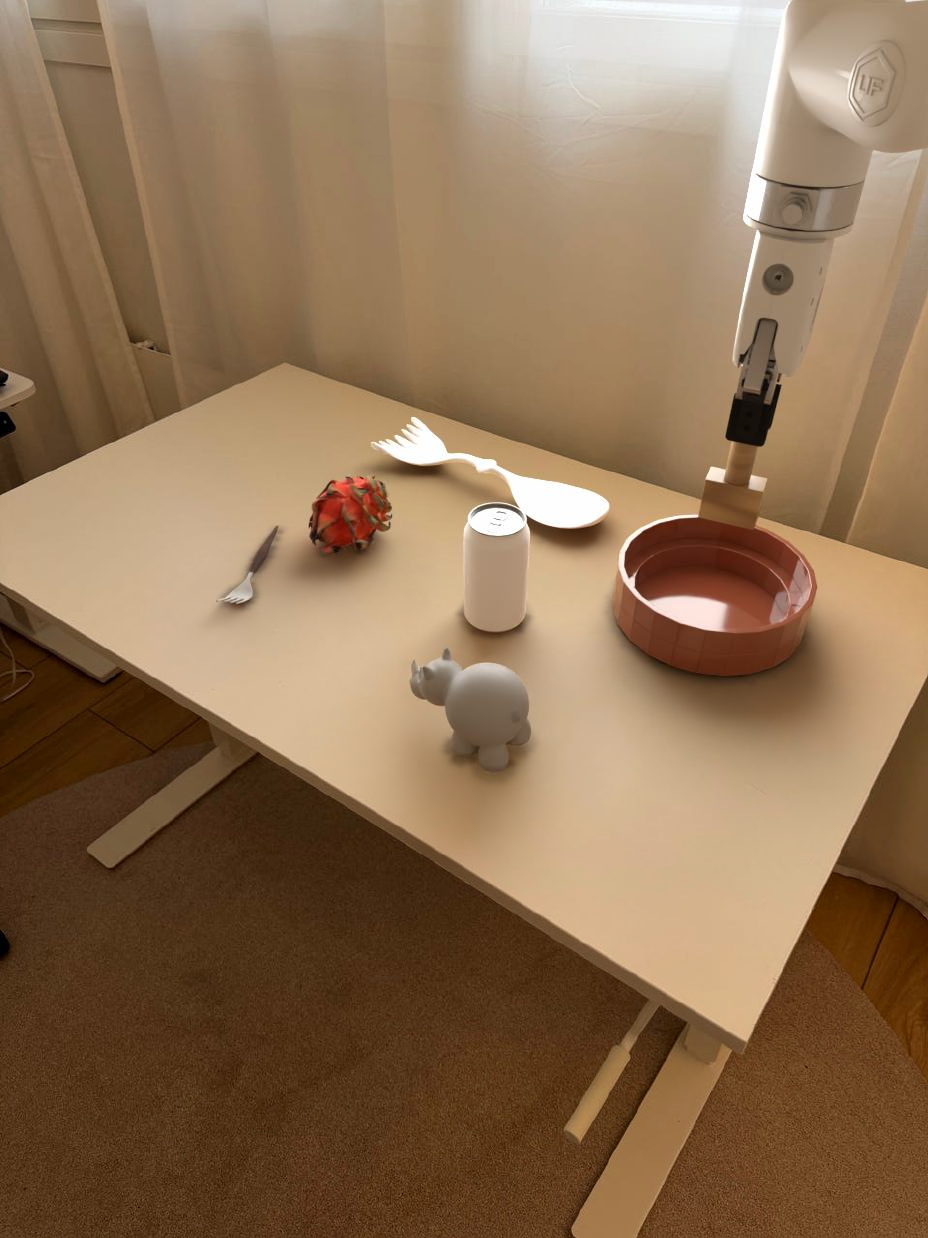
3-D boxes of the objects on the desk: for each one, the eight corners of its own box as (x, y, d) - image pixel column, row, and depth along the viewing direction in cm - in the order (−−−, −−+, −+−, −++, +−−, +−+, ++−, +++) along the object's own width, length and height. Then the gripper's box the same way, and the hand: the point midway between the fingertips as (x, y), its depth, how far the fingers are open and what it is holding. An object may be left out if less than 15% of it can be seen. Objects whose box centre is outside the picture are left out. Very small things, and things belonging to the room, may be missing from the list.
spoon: (413, 435, 121) (412, 412, 119) (620, 515, 107) (624, 490, 104) (369, 463, 116) (367, 439, 114) (581, 551, 101) (584, 525, 99)
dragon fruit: (396, 528, 107) (328, 588, 102) (347, 476, 107) (275, 533, 101) (421, 498, 100) (348, 561, 94) (368, 442, 100) (292, 502, 94)
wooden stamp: (758, 516, 81) (796, 370, 71) (753, 530, 79) (791, 383, 70) (703, 503, 82) (733, 359, 73) (697, 517, 80) (727, 371, 71)
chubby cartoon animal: (440, 679, 86) (438, 612, 80) (543, 738, 80) (548, 669, 74) (389, 723, 81) (383, 655, 76) (494, 788, 76) (496, 720, 70)
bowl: (814, 585, 96) (829, 540, 92) (784, 703, 83) (799, 656, 79) (641, 542, 102) (648, 498, 98) (587, 645, 89) (593, 599, 85)
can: (454, 625, 92) (452, 529, 84) (477, 588, 96) (477, 494, 88) (513, 641, 90) (517, 544, 82) (534, 603, 94) (540, 507, 86)
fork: (289, 530, 105) (286, 516, 103) (241, 617, 93) (238, 603, 91) (267, 528, 105) (265, 514, 104) (217, 615, 93) (214, 600, 92)
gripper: (844, 243, 56) (777, 491, 68) (869, 177, 67) (807, 401, 79) (724, 227, 59) (680, 470, 71) (767, 166, 70) (723, 385, 82)
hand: (748, 432), depth 75 cm, fingers closed on wooden stamp, 2 cm apart
